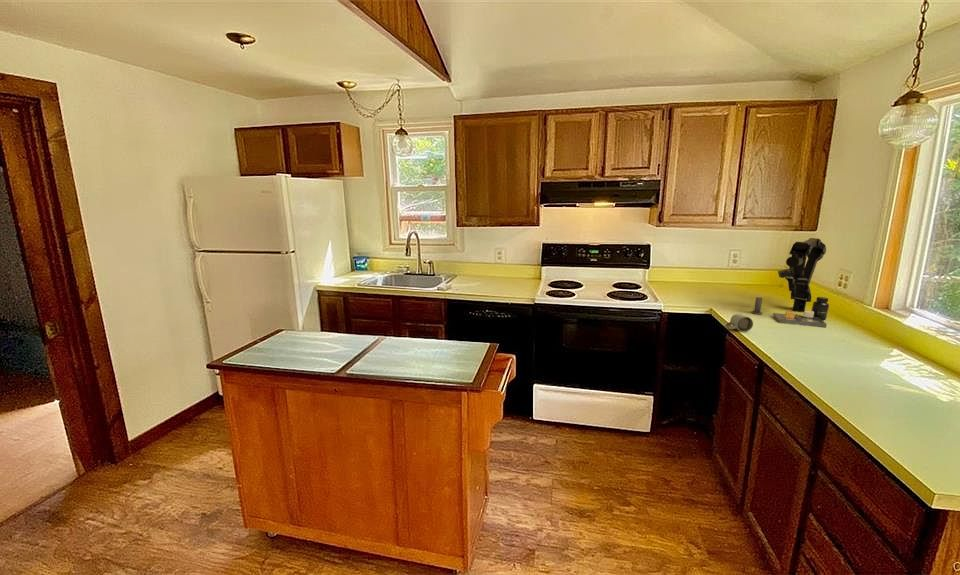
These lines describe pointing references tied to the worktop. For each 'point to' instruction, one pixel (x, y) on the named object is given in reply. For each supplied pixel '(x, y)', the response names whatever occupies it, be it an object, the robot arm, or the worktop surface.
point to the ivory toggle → (808, 314)
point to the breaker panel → (800, 320)
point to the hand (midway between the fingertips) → (793, 293)
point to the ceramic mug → (740, 323)
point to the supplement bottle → (820, 308)
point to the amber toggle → (789, 314)
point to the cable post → (757, 306)
